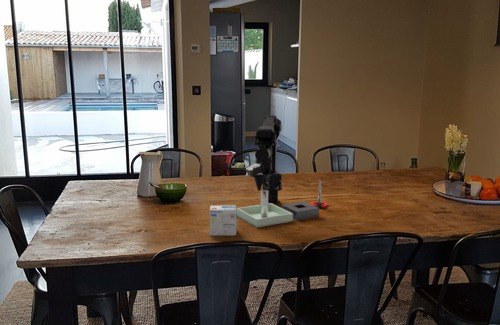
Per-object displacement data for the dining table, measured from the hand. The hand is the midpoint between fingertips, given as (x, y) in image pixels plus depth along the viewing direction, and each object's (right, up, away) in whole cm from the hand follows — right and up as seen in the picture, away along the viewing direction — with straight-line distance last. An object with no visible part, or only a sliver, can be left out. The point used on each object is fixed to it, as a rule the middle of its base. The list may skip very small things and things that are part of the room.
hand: (264, 192), depth 215 cm
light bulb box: (-17, -15, -16) cm, 28 cm away
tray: (0, -11, +3) cm, 12 cm away
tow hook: (+27, -8, +24) cm, 37 cm away
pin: (0, -11, +3) cm, 11 cm away
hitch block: (+16, -10, +8) cm, 21 cm away
